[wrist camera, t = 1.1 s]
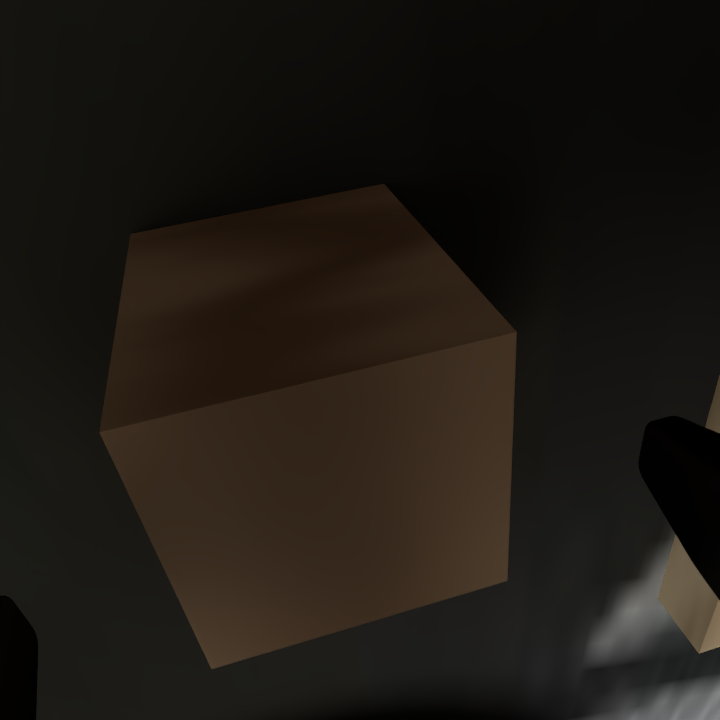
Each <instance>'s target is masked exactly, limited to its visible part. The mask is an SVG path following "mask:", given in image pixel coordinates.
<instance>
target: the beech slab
mask: <svg viewBox="0 0 720 720" xmlns="http://www.w3.org/2000/svg"><path fill="white" fill-rule="evenodd" d="M705 427H706V428H708V429H710V430H713V431H715V432H718V433H720V376H719V379H718V383H717V386H716V390H715V394H714V397H713V401H712V405H711V408H710V412H709V415H708V419H707V423H706V426H705ZM658 599H659V601H660V602H661V603H662V605H663V606H664V608H665V609H666V610H667V612H668V613H669V614H670V616H671V617H672V618H673V620H674V621H675V622H676V624H677V625H678V626H679V628H680V629H681V630H682V632H683V633H684V634H685V636H686V637H687V638H688V640H689V641H690V642H691V644H692V645H693V646H694V648H695V649H696V650H697V652H698V653H702V652H705V651H708V650H711V649H714V648H717V647H720V600H719V599H718V598H717V596H716V595H715V594H714V592H713V591H712V590H711V588H710V587H709V585H708V584H707V583H706V581H705V580H704V578H703V577H702V576H701V574H700V573H699V571H698V570H697V568H696V567H695V566H694V564H693V562H692V561H691V559H690V558H689V556H688V554H687V553H686V551H685V549H684V548H683V546H682V544H681V543H680V541H679V539H678V538H677V536H676V535H675V539H674V542H673V546H672V549H671V553H670V557H669V560H668V564H667V568H666V571H665V575H664V578H663V582H662V586H661V589H660V593H659V597H658Z"/></svg>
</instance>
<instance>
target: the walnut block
mask: <svg viewBox="0 0 720 720" xmlns="http://www.w3.org/2000/svg"><path fill="white" fill-rule="evenodd" d="M516 338H517V332H516V331H515V330H514V328H513V327H512V326H511V325H510V324H509V323H508V322H507V321H506V319H505V318H504V317H503V316H502V315H501V314H500V313H499V312H498V311H497V309H496V308H495V307H494V306H493V305H492V304H491V303H490V302H489V301H488V299H487V298H486V297H485V296H484V295H483V294H482V293H481V292H480V290H479V289H478V288H477V287H476V286H475V285H474V284H473V283H472V282H471V280H470V279H469V278H468V277H467V276H466V275H465V274H464V273H463V271H462V270H461V269H460V268H459V267H458V266H457V265H456V264H455V263H454V261H453V260H452V259H451V258H450V257H449V256H448V255H447V254H446V252H445V251H444V250H443V249H442V248H441V247H440V246H439V245H438V244H437V242H436V241H435V240H434V239H433V238H432V237H431V236H430V235H429V234H428V232H427V231H426V230H425V229H424V228H423V227H422V226H421V225H420V223H419V222H418V221H417V220H416V219H415V218H414V217H413V216H412V215H411V213H410V212H409V211H408V210H407V209H406V208H405V207H404V206H403V204H402V203H401V202H400V201H399V200H398V199H397V198H396V197H395V196H394V194H393V193H392V192H391V191H390V190H389V189H388V188H387V187H386V186H385V184H380V185H375V186H370V187H365V188H360V189H355V190H350V191H345V192H339V193H334V194H329V195H324V196H319V197H314V198H309V199H304V200H299V201H294V202H289V203H284V204H279V205H274V206H269V207H264V208H259V209H254V210H249V211H244V212H239V213H234V214H229V215H224V216H219V217H214V218H209V219H204V220H199V221H194V222H189V223H184V224H178V225H173V226H168V227H163V228H158V229H153V230H148V231H143V232H138V233H133V234H130V241H129V247H128V253H127V260H126V266H125V273H124V279H123V285H122V292H121V298H120V304H119V311H118V317H117V323H116V330H115V336H114V343H113V349H112V355H111V362H110V368H109V374H108V381H107V387H106V394H105V400H104V406H103V413H102V419H101V425H100V432H99V433H100V435H101V437H102V439H103V441H104V443H105V445H106V447H107V449H108V451H109V454H110V456H111V458H112V460H113V462H114V464H115V466H116V468H117V470H118V473H119V475H120V477H121V479H122V481H123V483H124V485H125V487H126V489H127V492H128V494H129V496H130V498H131V500H132V502H133V504H134V506H135V508H136V511H137V513H138V515H139V517H140V519H141V521H142V523H143V525H144V527H145V530H146V532H147V534H148V536H149V538H150V540H151V542H152V544H153V546H154V549H155V551H156V553H157V555H158V557H159V559H160V561H161V563H162V565H163V568H164V570H165V572H166V574H167V576H168V578H169V580H170V582H171V584H172V587H173V589H174V591H175V593H176V595H177V597H178V599H179V601H180V603H181V606H182V608H183V610H184V612H185V614H186V616H187V618H188V620H189V622H190V625H191V627H192V629H193V631H194V633H195V635H196V637H197V639H198V641H199V644H200V646H201V648H202V650H203V652H204V654H205V656H206V658H207V660H208V663H209V665H210V667H211V669H214V668H217V667H220V666H224V665H227V664H230V663H234V662H237V661H240V660H244V659H247V658H251V657H254V656H257V655H261V654H264V653H267V652H271V651H274V650H277V649H281V648H284V647H287V646H291V645H294V644H297V643H301V642H304V641H307V640H311V639H314V638H318V637H321V636H324V635H328V634H331V633H334V632H338V631H341V630H344V629H348V628H351V627H354V626H358V625H361V624H364V623H368V622H371V621H374V620H378V619H381V618H384V617H388V616H391V615H395V614H398V613H401V612H405V611H408V610H411V609H415V608H418V607H421V606H425V605H428V604H431V603H435V602H438V601H441V600H445V599H448V598H451V597H455V596H458V595H462V594H465V593H468V592H472V591H475V590H478V589H482V588H485V587H488V586H492V585H495V584H498V583H502V582H505V581H507V574H508V548H509V522H510V495H511V469H512V443H513V417H514V390H515V364H516Z"/></svg>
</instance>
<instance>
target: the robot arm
mask: <svg viewBox="0 0 720 720" xmlns="http://www.w3.org/2000/svg"><path fill="white" fill-rule="evenodd" d="M639 470H640V473H641V476H642V478H643V480H644V481H645V483H646V485H647V486H648V488H649V490H650V492H651V493H652V495H653V497H654V498H655V500H656V502H657V503H658V505H659V507H660V509H661V510H662V512H663V514H664V515H665V517H666V519H667V521H668V522H669V524H670V526H671V527H672V529H673V531H674V532H675V534H676V536H677V538H678V539H679V541H680V543H681V544H682V546H683V548H684V549H685V551H686V553H687V554H688V556H689V558H690V559H691V561H692V562H693V564H694V566H695V567H696V568H697V570H698V571H699V573H700V574H701V576H702V577H703V578H704V580H705V581H706V583H707V584H708V585H709V587H710V588H711V590H712V591H713V592H714V594H715V595H716V596H717V598H718V599H719V600H720V433H718V432H715V431H713V430H710V429H708V428H706V427H703V426H701V425H698V424H696V423H694V422H691V421H689V420H686V419H684V418H681V417H678V416H669V417H665V418H661V419H658V420H654V421H651V422H649V423H648V424H647V426H646V427H645V431H644V436H643V441H642V446H641V451H640V456H639ZM37 669H38V641H37V636H36V633H35V631H34V629H33V627H32V626H31V625H30V623H29V622H28V620H27V619H26V618H25V616H24V615H23V614H22V612H21V611H20V610H19V608H18V607H17V605H16V604H15V603H14V601H13V600H12V599H11V598H9V597H7V596H5V595H4V596H0V720H36V703H37Z"/></svg>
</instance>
